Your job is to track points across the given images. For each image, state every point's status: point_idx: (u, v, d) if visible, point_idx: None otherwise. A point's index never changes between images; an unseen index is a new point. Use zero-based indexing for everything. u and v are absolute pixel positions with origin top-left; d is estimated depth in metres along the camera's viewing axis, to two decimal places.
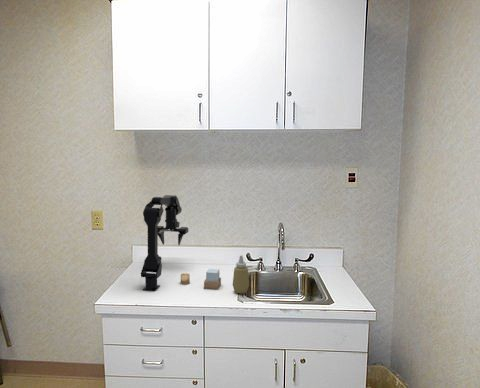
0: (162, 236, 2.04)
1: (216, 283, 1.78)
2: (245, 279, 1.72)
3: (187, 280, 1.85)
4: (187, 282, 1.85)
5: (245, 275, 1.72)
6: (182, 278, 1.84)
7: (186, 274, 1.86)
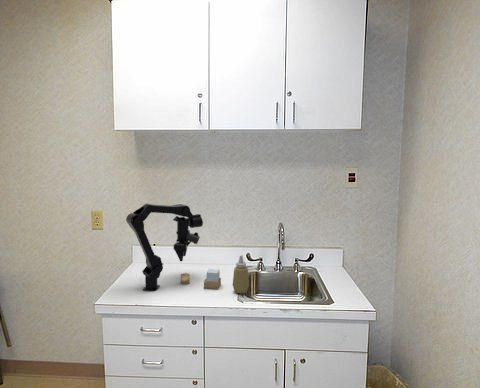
0: None
1: (216, 283, 1.78)
2: (245, 279, 1.72)
3: (187, 280, 1.85)
4: (187, 282, 1.85)
5: (245, 275, 1.72)
6: (182, 278, 1.84)
7: (186, 274, 1.86)
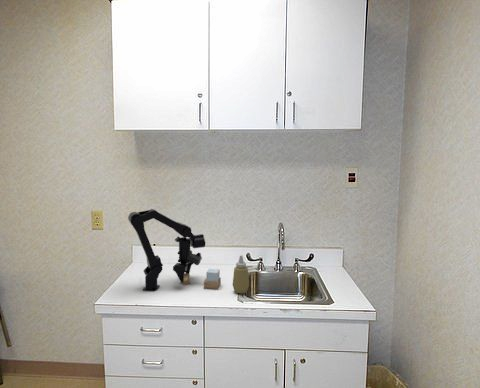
0: None
1: (216, 283, 1.78)
2: (245, 279, 1.72)
3: (187, 280, 1.85)
4: (187, 282, 1.85)
5: (245, 275, 1.72)
6: None
7: (186, 274, 1.86)
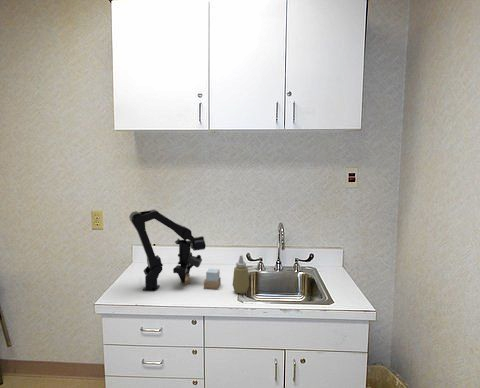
0: None
1: (216, 283, 1.78)
2: (245, 279, 1.72)
3: (187, 280, 1.85)
4: (187, 282, 1.85)
5: (245, 275, 1.72)
6: None
7: (186, 274, 1.86)
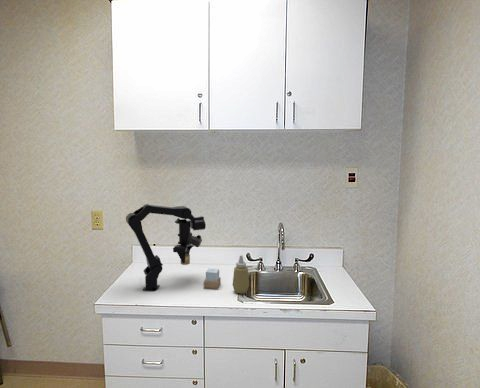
0: None
1: (216, 283, 1.78)
2: (245, 279, 1.72)
3: (187, 260, 1.83)
4: (187, 262, 1.83)
5: (245, 275, 1.72)
6: None
7: (186, 254, 1.85)
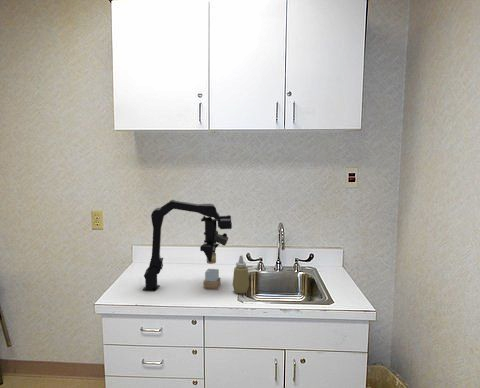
0: None
1: (216, 283, 1.78)
2: (245, 279, 1.72)
3: (214, 259, 1.79)
4: (214, 261, 1.79)
5: (245, 275, 1.72)
6: None
7: None
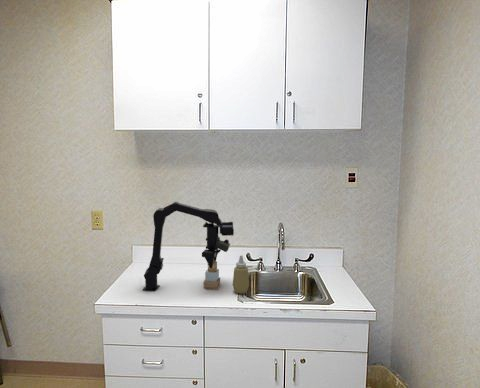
0: None
1: (216, 283, 1.78)
2: (245, 279, 1.72)
3: (215, 267, 1.79)
4: (215, 270, 1.79)
5: (245, 275, 1.72)
6: None
7: (213, 261, 1.81)
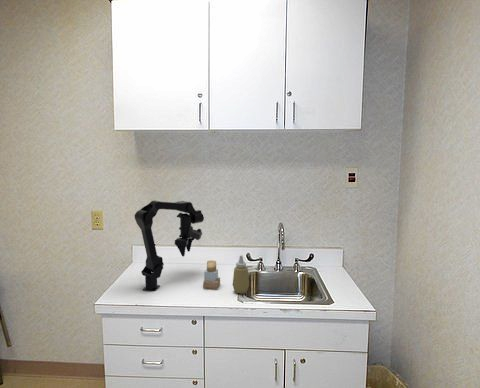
0: None
1: (215, 283, 1.78)
2: (245, 279, 1.72)
3: (214, 267, 1.79)
4: (214, 269, 1.80)
5: (245, 275, 1.72)
6: (209, 265, 1.79)
7: (212, 261, 1.81)
